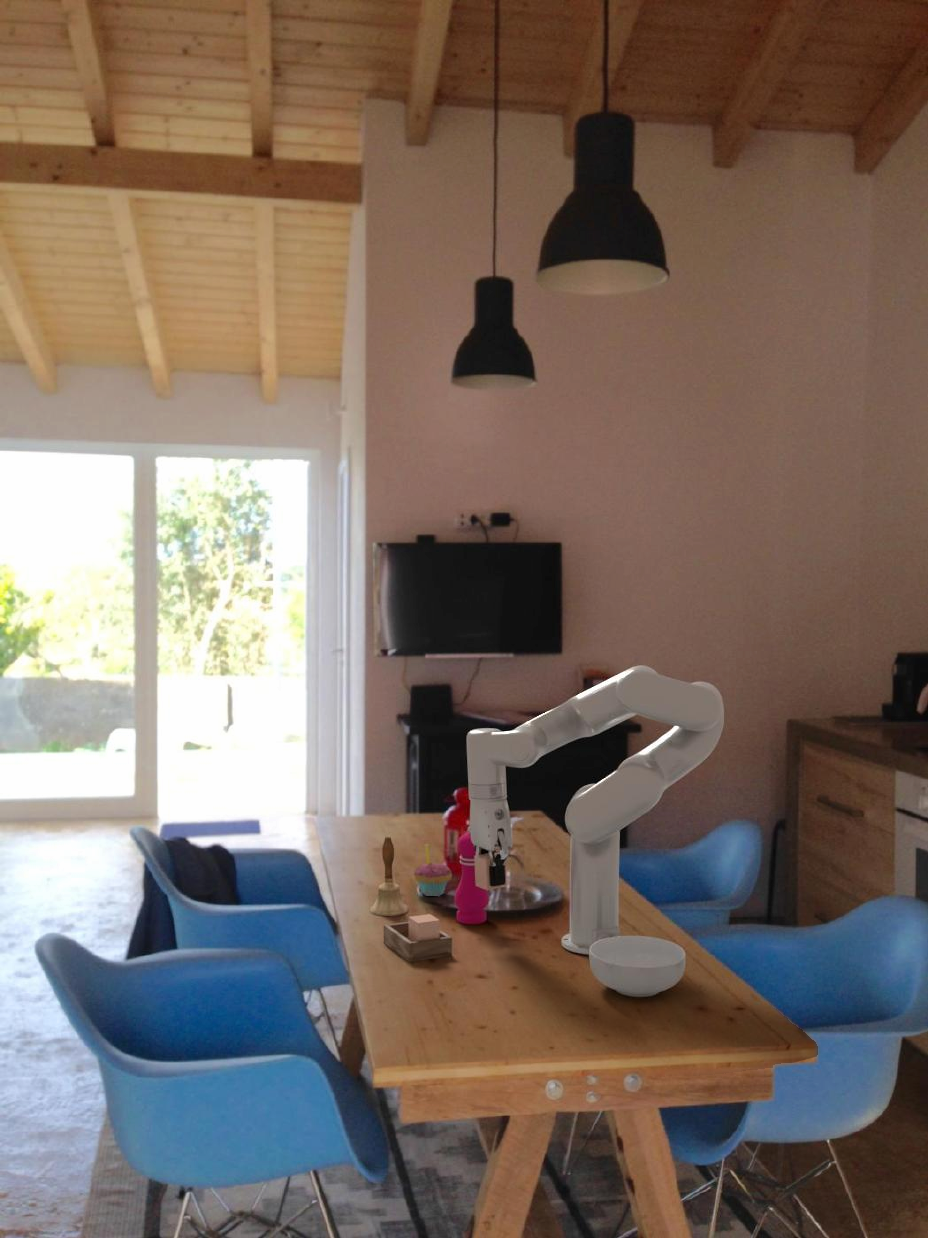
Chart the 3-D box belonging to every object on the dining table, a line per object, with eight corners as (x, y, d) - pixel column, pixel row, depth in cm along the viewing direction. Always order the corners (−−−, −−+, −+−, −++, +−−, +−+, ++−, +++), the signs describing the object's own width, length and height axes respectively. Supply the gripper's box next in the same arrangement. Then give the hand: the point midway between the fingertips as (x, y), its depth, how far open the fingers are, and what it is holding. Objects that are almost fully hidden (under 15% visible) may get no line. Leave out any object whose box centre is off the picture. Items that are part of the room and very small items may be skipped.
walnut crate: (451, 955, 228) (451, 937, 228) (409, 962, 225) (409, 943, 224) (424, 937, 240) (424, 919, 240) (383, 942, 236) (383, 925, 236)
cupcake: (408, 897, 270) (408, 844, 269) (423, 887, 278) (423, 836, 277) (443, 901, 266) (443, 847, 266) (457, 891, 274) (458, 839, 274)
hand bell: (379, 918, 253) (379, 843, 253) (363, 908, 261) (363, 835, 260) (414, 913, 257) (414, 839, 256) (398, 903, 264) (398, 831, 264)
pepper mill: (485, 926, 247) (485, 830, 247) (451, 924, 249) (451, 828, 248) (491, 916, 255) (491, 822, 254) (458, 914, 256) (458, 821, 255)
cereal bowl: (570, 983, 213) (570, 943, 213) (644, 968, 222) (644, 930, 221) (628, 1013, 199) (628, 971, 198) (705, 996, 207) (706, 955, 206)
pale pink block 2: (506, 886, 237) (505, 856, 237) (486, 890, 235) (485, 860, 235) (495, 882, 241) (493, 852, 241) (475, 885, 239) (474, 855, 239)
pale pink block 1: (439, 951, 228) (439, 920, 228) (417, 954, 226) (417, 923, 226) (430, 944, 232) (429, 914, 232) (408, 947, 231) (408, 917, 230)
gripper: (524, 795, 231) (528, 888, 232) (485, 783, 247) (489, 871, 247) (489, 799, 228) (494, 894, 229) (452, 787, 244) (456, 876, 244)
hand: (491, 881), depth 238 cm, fingers closed on pale pink block 2, 4 cm apart
